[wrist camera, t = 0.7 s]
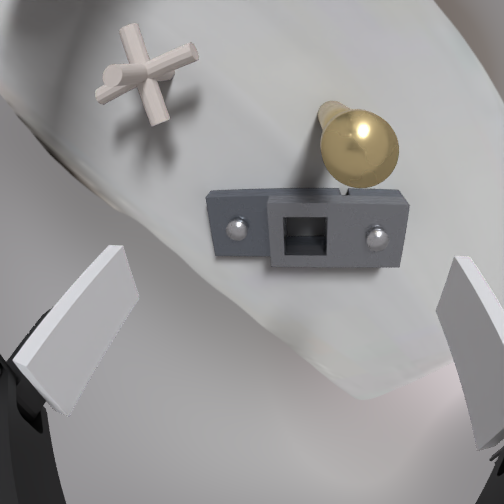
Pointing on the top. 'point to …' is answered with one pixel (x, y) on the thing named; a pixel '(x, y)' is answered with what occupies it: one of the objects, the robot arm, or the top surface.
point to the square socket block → (310, 205)
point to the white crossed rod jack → (144, 73)
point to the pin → (356, 145)
